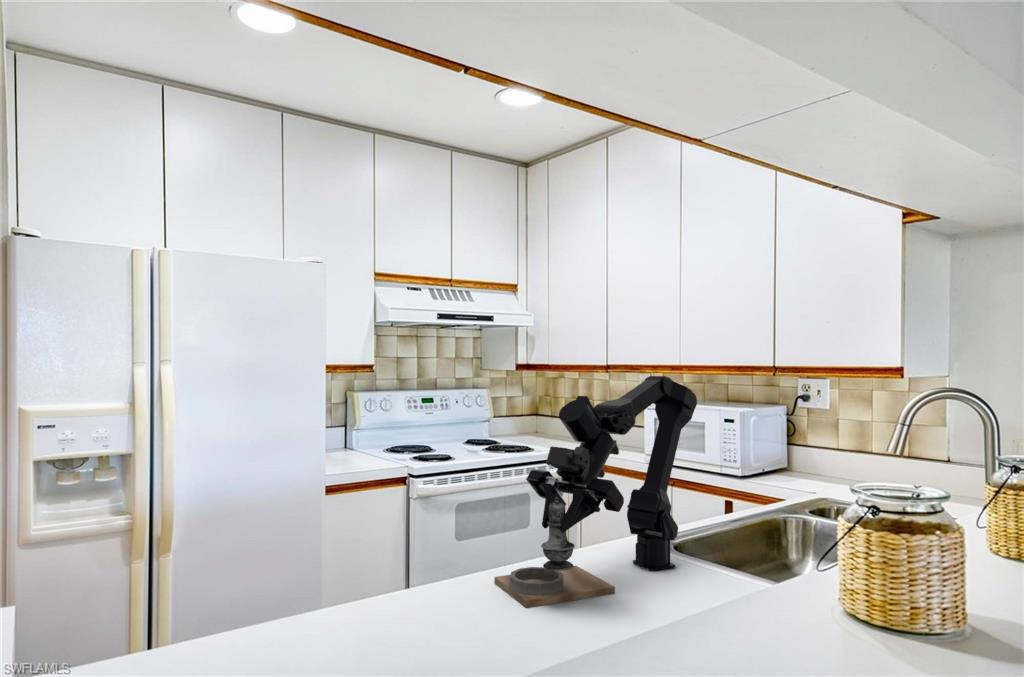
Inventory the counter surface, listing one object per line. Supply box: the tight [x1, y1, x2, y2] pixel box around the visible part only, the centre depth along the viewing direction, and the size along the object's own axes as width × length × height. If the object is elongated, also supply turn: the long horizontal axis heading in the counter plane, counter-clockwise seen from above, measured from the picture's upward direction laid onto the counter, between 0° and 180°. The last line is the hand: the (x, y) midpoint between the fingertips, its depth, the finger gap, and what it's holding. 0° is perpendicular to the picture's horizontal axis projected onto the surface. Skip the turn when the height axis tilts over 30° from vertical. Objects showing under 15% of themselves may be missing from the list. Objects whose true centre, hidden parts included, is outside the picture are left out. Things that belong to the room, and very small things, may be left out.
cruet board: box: [494, 565, 616, 609], centre depth 119 cm, size 18×14×3 cm
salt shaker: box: [540, 497, 576, 571], centre depth 112 cm, size 6×6×12 cm
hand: (552, 528), depth 111 cm, fingers closed on salt shaker, 4 cm apart
